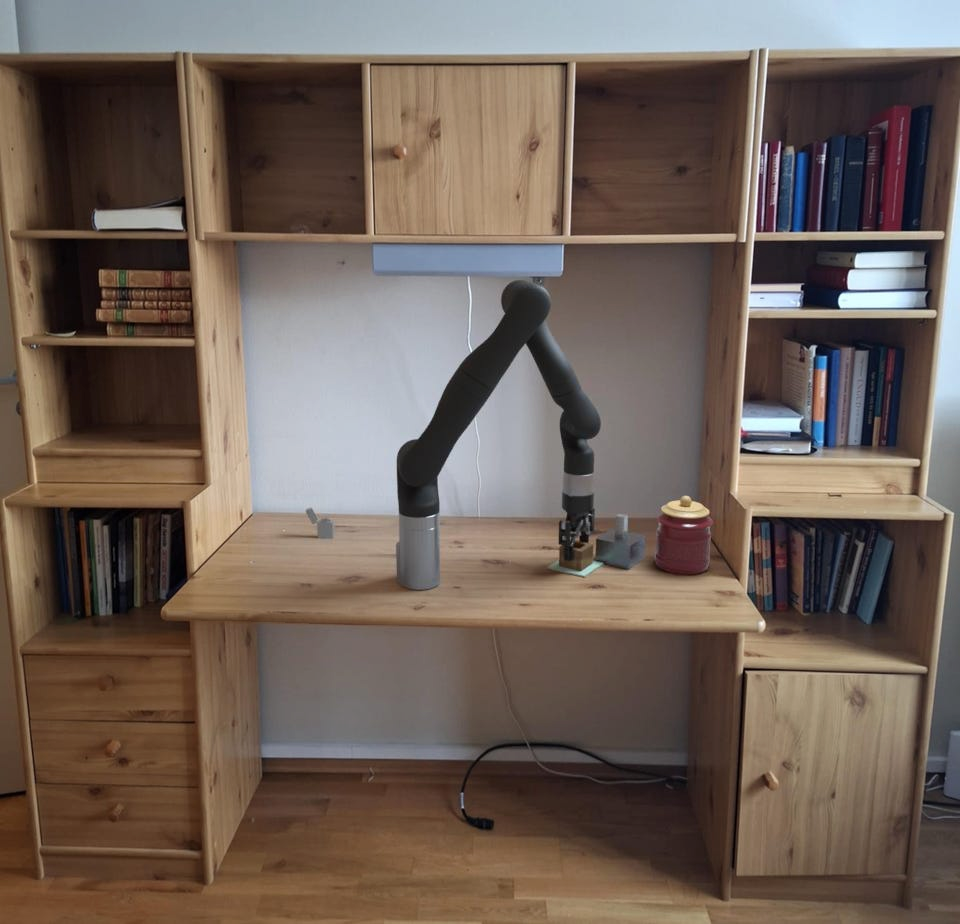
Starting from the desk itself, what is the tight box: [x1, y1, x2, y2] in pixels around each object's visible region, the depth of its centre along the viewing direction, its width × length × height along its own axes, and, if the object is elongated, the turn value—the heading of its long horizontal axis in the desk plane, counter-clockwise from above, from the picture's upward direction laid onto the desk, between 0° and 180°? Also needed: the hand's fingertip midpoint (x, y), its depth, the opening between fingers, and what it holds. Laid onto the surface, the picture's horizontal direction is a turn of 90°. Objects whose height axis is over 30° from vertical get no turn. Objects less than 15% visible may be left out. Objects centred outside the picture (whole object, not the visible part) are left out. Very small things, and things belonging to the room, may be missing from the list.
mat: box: [547, 559, 605, 578], centre depth 212 cm, size 10×10×1 cm
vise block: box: [594, 513, 646, 570], centre depth 214 cm, size 9×9×12 cm
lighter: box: [305, 507, 335, 539], centre depth 231 cm, size 7×2×8 cm, turn 87°
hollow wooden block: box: [558, 539, 594, 571], centre depth 211 cm, size 6×6×5 cm
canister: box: [654, 495, 714, 576], centre depth 210 cm, size 13×13×18 cm
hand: (576, 555), depth 211 cm, fingers open, 7 cm apart
